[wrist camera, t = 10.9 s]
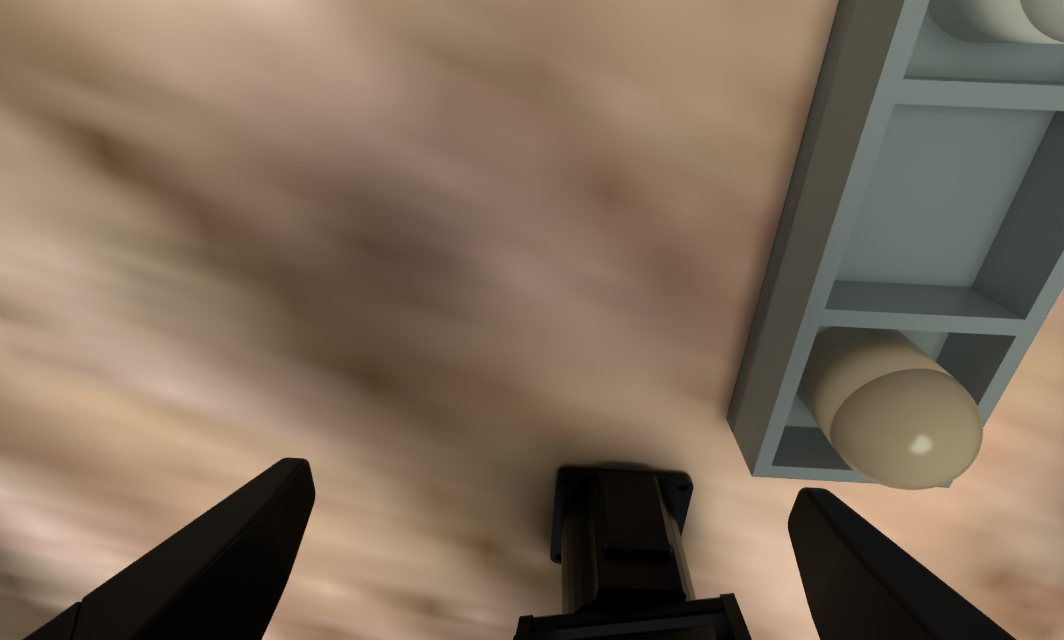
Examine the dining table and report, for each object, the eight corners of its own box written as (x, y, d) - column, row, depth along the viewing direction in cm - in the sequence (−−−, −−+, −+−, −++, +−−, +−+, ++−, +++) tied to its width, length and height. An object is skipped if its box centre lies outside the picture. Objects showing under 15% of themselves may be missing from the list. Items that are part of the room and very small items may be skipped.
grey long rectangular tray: (897, 428, 23) (949, 487, 20) (726, 419, 24) (752, 476, 21) (1198, -210, 13) (1388, -283, 10) (899, -219, 14) (998, -294, 11)
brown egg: (885, 414, 22) (980, 523, 17) (779, 408, 22) (843, 515, 17) (927, 321, 20) (1049, 416, 15) (809, 315, 20) (892, 407, 15)
